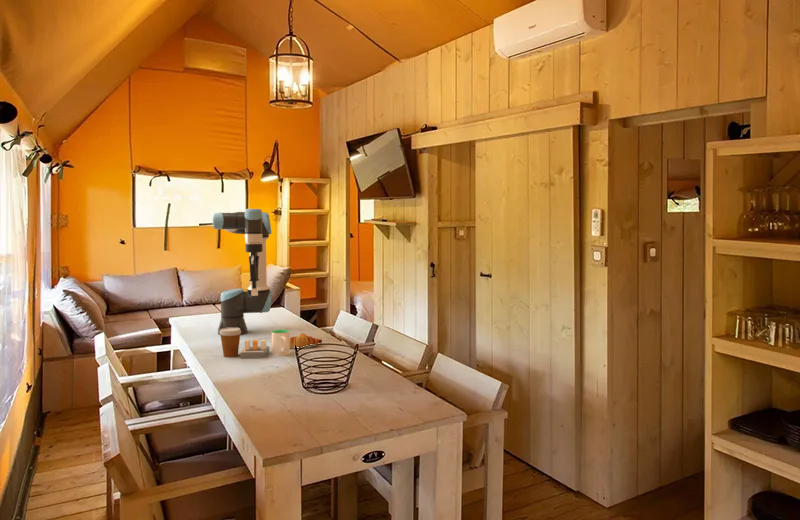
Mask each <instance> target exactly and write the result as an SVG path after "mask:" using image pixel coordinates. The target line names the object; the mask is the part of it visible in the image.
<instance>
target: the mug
mask: <svg viewBox="0 0 800 520" xmlns="http://www.w3.org/2000/svg"><path fill="white" fill-rule="evenodd" d="M290 335H291V334H290V329H289V330H288V329H274V330H272V331H271V356H277V357H282V356H283V357H284V356H288V355H290V353H291V352H290V351H291V349H290V338H291V337H290Z"/></svg>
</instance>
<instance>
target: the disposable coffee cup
mask: <svg viewBox="0 0 800 520" xmlns="http://www.w3.org/2000/svg"><path fill="white" fill-rule="evenodd" d="M219 333H220V334H219V336H220V340H221V347H222V353H223V354H222V355H223V357H224V358H235V357H238V356H239V348H240V341H241V340H240V339H241V335H242V334H241V330H240V328H234V327H233V328H223V329H221V330H220V332H219ZM240 334H241V335H240Z"/></svg>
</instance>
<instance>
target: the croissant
mask: <svg viewBox="0 0 800 520" xmlns="http://www.w3.org/2000/svg"><path fill="white" fill-rule="evenodd" d="M318 343H320V344H322V343H323V340H322V339H321V338H316V337H313V336H311V335H307V334H306V333H303V332H302V333H300V334H297V335H296V336H291V337H290V350H291V349H293V350H295V349H294V346H295V345H296V346H297V347H299V348H301V347H303V346H306V345H310V344H318Z"/></svg>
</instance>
